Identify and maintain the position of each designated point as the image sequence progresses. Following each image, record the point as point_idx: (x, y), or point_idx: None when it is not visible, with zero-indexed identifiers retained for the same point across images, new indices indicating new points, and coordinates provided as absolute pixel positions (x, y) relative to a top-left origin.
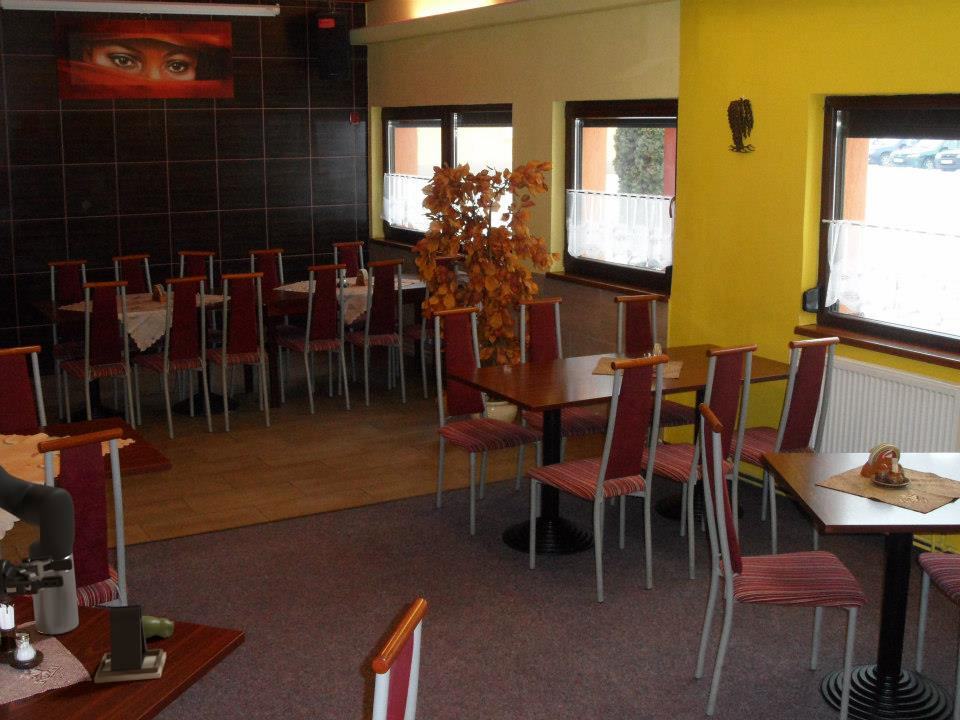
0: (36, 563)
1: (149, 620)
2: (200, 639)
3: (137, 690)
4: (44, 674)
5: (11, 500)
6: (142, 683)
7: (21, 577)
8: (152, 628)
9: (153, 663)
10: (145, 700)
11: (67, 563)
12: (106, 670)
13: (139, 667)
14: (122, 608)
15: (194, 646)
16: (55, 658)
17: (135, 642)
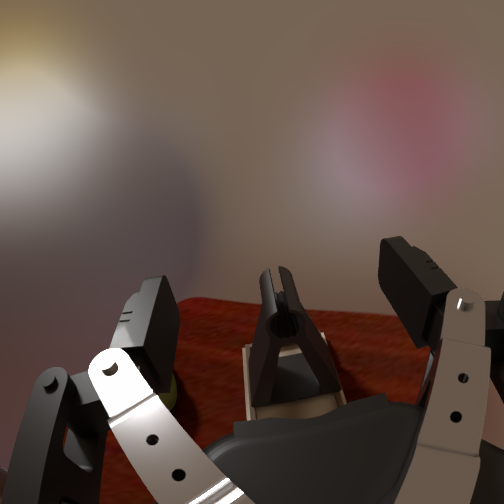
0: (182, 429)
1: None
2: (191, 328)
3: (369, 351)
4: None
5: None
6: (344, 353)
7: (486, 444)
8: None
9: (287, 351)
10: (396, 329)
11: (165, 300)
12: (315, 414)
13: (328, 348)
14: (286, 289)
15: (214, 329)
16: None
17: (312, 324)
